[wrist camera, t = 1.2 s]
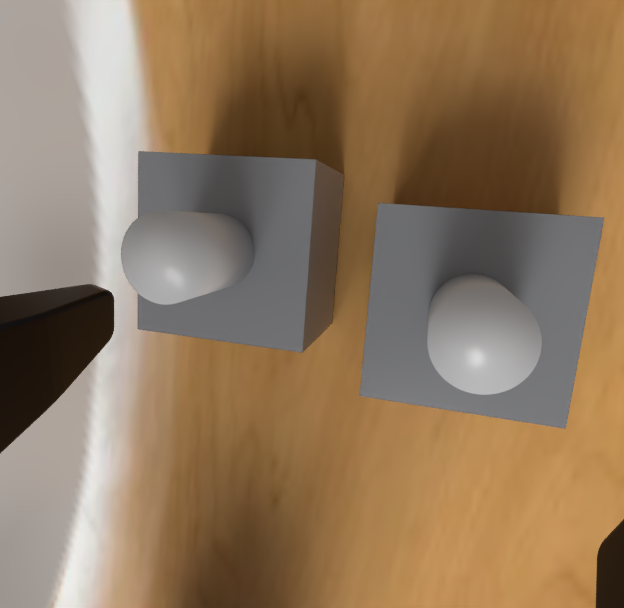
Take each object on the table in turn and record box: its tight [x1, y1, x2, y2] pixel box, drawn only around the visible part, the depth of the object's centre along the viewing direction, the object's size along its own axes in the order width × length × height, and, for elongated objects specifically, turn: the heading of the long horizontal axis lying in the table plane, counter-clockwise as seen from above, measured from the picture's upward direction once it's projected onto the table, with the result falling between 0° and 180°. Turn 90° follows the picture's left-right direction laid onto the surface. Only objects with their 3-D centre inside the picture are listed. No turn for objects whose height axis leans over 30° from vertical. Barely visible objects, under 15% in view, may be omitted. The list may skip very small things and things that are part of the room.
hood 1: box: [121, 151, 344, 352], centre depth 19 cm, size 7×7×10 cm
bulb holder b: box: [360, 203, 604, 429], centre depth 17 cm, size 7×7×10 cm
